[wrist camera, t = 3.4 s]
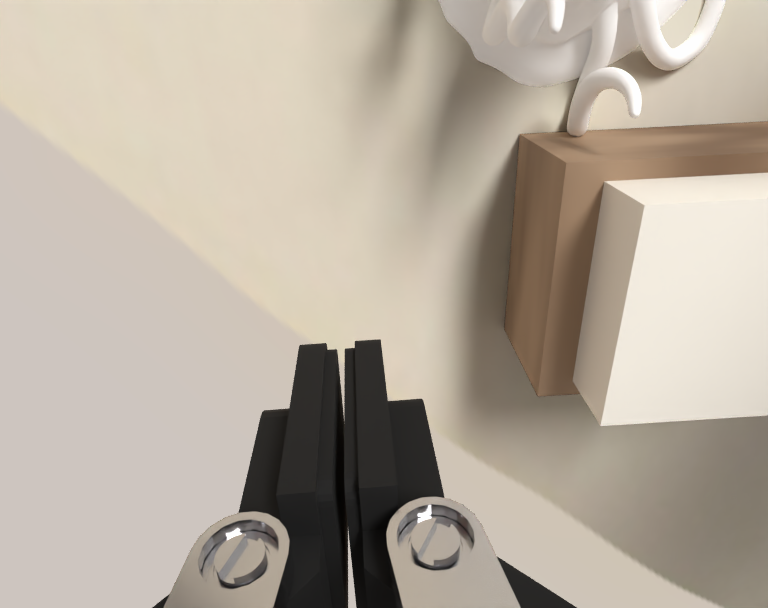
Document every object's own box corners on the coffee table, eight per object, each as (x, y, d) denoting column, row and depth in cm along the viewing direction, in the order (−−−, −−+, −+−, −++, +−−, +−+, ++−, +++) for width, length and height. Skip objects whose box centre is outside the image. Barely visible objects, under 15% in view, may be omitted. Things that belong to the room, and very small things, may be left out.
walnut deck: (805, 119, 16) (931, 143, 13) (742, 315, 19) (828, 378, 16) (519, 134, 16) (566, 162, 12) (504, 329, 19) (537, 396, 16)
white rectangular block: (805, 170, 13) (877, 192, 11) (736, 370, 16) (785, 414, 14) (604, 181, 13) (644, 205, 11) (572, 380, 15) (600, 426, 14)
